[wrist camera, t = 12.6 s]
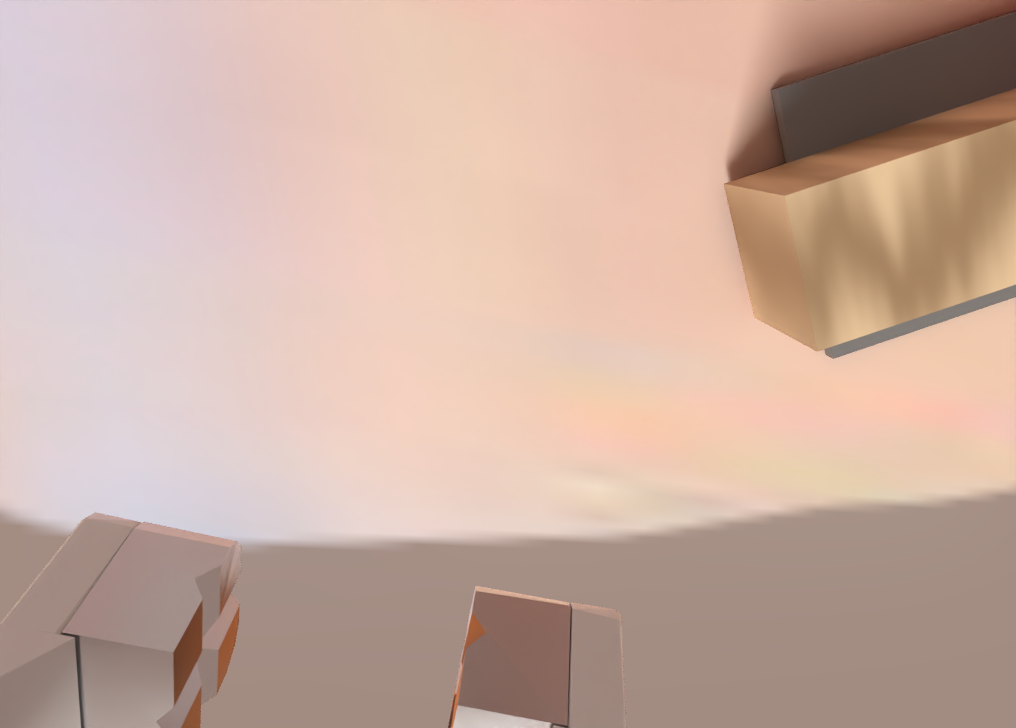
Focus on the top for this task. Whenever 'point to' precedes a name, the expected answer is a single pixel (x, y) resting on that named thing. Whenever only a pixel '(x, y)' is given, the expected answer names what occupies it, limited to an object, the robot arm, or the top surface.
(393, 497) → the top surface
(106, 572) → the robot arm
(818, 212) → the block
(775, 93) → the mat
